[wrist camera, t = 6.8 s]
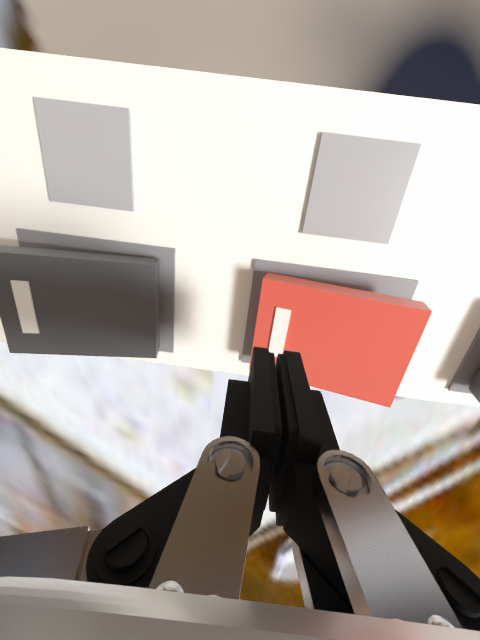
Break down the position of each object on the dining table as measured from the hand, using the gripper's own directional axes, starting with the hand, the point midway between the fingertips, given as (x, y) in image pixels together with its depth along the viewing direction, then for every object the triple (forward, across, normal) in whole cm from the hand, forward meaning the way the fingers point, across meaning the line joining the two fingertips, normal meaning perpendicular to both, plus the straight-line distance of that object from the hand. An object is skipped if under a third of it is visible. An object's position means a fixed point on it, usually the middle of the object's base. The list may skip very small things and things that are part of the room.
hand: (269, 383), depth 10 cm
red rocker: (+4, -3, 0) cm, 5 cm away
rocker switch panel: (+9, -9, -3) cm, 14 cm away
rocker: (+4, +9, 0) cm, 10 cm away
